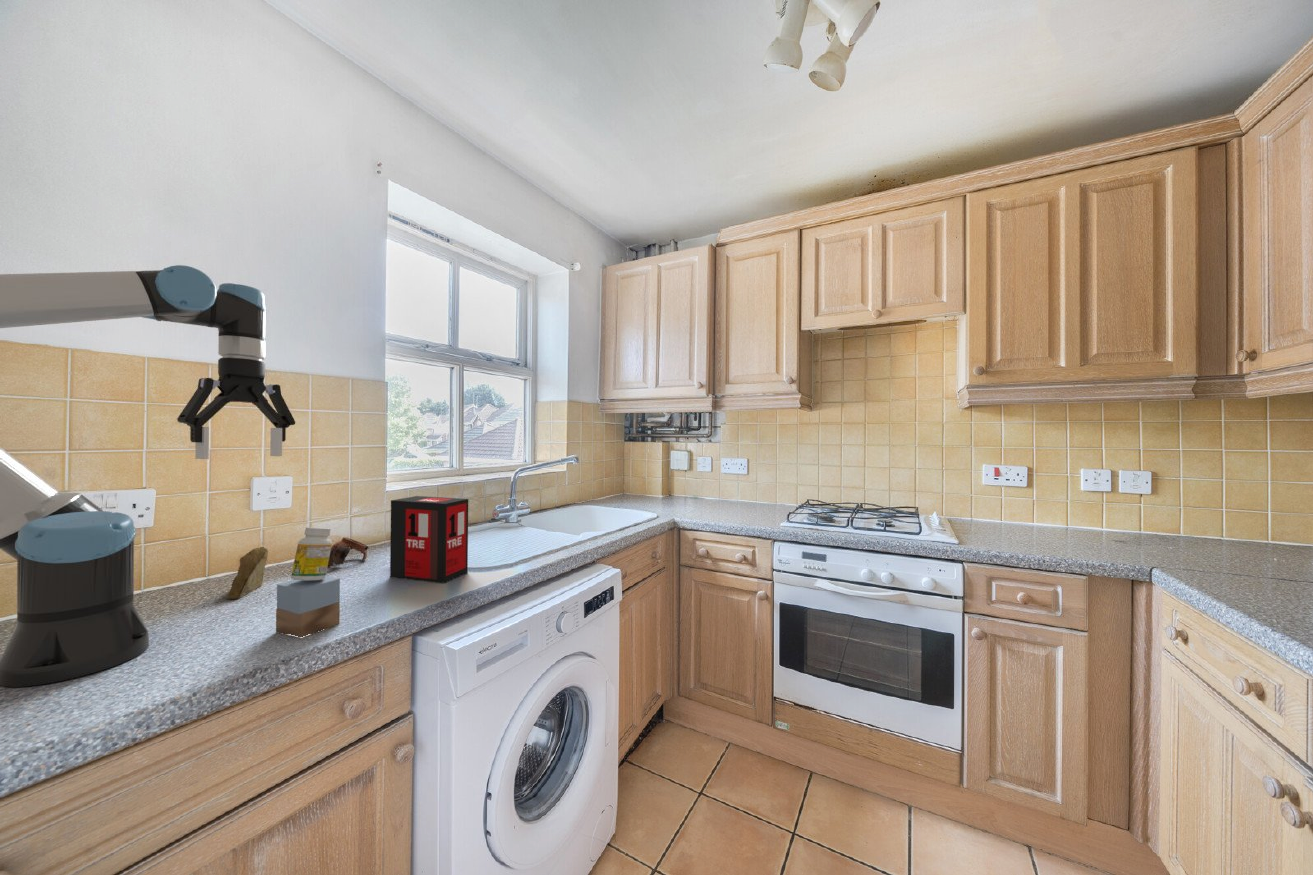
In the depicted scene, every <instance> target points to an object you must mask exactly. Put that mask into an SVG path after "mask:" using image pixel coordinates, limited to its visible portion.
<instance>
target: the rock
mask: <svg viewBox="0 0 1313 875" xmlns="http://www.w3.org/2000/svg"><path fill="white" fill-rule="evenodd" d="M268 555H269V550H268V549H267V548H265V547H264V546H260V547H255V548H253V549H251V550H249V552H247V553H245V555H243V556H241V557H240V559H239V562H240V563H239V567H238V570H237V575H236V576H235V577H234V579H233V580H232V583H231V587H230V589H229V591H228V594H227V597H226V599H228V600H229V599H232V600H234V599H235V600H236V599H237V600H238V599H240V598H243V597H244V596H246V595H248V594H250V593H252V592H254V591H255V590H257V589H258V588H259V587H262V585H263V581H264V574H265V569H266V564H267V561H268ZM256 588H257V589H256Z"/></svg>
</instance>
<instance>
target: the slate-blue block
mask: <svg viewBox="0 0 1313 875" xmlns="http://www.w3.org/2000/svg"><path fill="white" fill-rule="evenodd" d="M340 581H341V579H340V578H338V577H333V576H327V575H326V577H325V578H324V579H322V580H293V579H291V580H289V581H286V582H281V583H278V584H276V609H281V610H285V611H289V612H293V613H296V614H303V613H306V612H309V611H313V610H316V609H319V608H322V607H325V606H328V605H331V604H334V603H337V602H341V601H340V598H341V596H340V593H341V592H340V591H341V590H340V589H341V588H340V587H341V586H340V584H341V582H340Z"/></svg>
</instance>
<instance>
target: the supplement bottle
mask: <svg viewBox="0 0 1313 875" xmlns="http://www.w3.org/2000/svg"><path fill="white" fill-rule="evenodd" d="M331 530H332V528H329V527H327V528H325V527H310V526H309V527H305V530H304V535H305V537H303V538H301V539H299V541H298V542H297V548H296V552H295V557H294V560H293V567H292V570H291V574H290V575H291V576H290V578H291V580H322V579H324V578H325V577H326V576H327V571H328V567H329V566H328V561H329V556H330V551H331V547H332V546H333V545H332V544H333V542H332V539H330V538H328V537H329V536H330V535H331Z"/></svg>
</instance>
